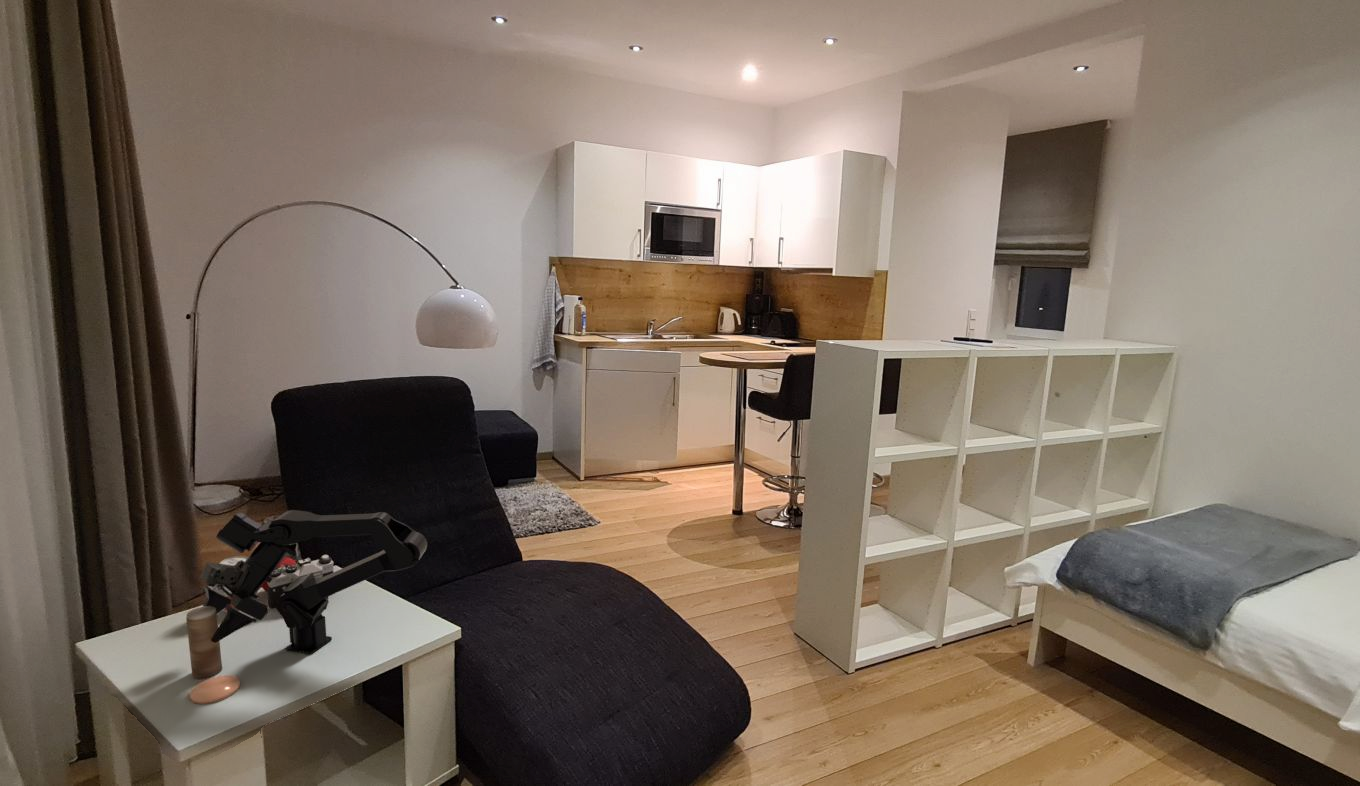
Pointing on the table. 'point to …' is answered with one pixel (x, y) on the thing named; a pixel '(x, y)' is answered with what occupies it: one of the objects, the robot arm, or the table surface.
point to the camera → (296, 576)
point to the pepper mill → (203, 642)
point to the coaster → (214, 689)
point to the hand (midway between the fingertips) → (204, 633)
